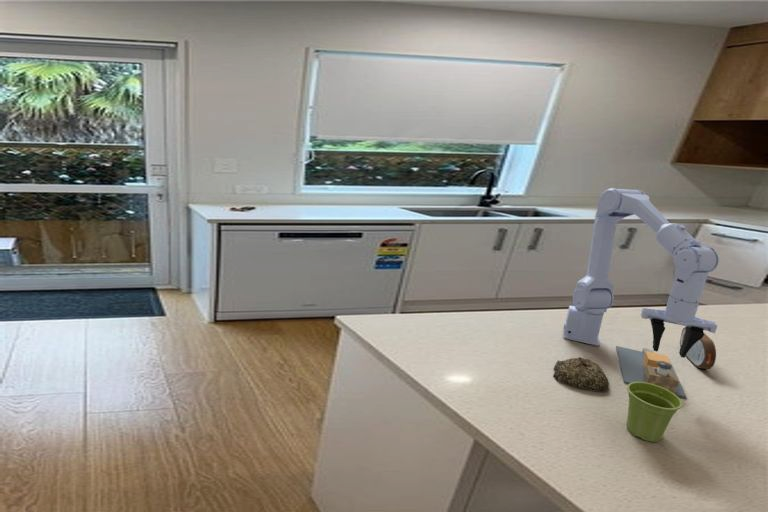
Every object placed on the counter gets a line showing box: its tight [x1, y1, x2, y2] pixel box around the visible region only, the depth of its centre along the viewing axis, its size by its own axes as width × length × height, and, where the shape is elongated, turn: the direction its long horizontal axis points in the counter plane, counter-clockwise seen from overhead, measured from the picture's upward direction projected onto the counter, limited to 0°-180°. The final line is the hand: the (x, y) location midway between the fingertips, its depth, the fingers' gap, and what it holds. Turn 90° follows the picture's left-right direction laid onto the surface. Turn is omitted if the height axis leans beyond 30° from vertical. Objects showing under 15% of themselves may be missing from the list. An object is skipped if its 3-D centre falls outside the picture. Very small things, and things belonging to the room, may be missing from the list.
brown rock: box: [552, 356, 610, 393], centre depth 108 cm, size 13×12×5 cm
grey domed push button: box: [656, 361, 673, 377], centre depth 106 cm, size 3×3×4 cm
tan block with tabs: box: [643, 351, 673, 370], centre depth 112 cm, size 5×5×4 cm
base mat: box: [615, 345, 688, 400], centre depth 115 cm, size 13×21×1 cm, turn 158°
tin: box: [679, 326, 717, 370], centre depth 122 cm, size 15×3×8 cm, turn 168°
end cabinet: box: [643, 365, 680, 394], centre depth 107 cm, size 6×5×4 cm
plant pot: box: [626, 382, 683, 443], centre depth 89 cm, size 9×9×9 cm
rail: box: [641, 347, 655, 357], centre depth 116 cm, size 2×16×2 cm, turn 158°
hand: (668, 352), depth 105 cm, fingers open, 5 cm apart
